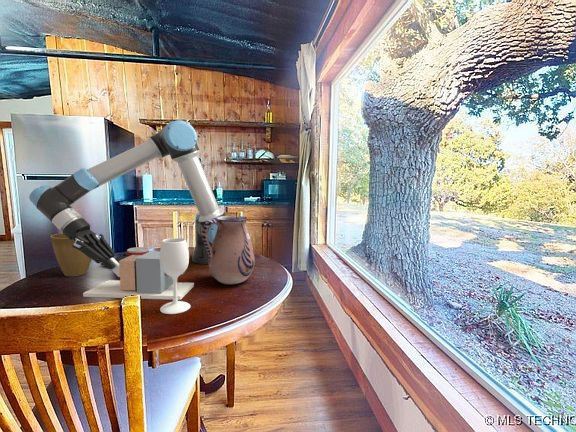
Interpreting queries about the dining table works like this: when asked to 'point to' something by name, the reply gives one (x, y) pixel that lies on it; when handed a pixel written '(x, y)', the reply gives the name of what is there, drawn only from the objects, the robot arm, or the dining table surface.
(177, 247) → the wineglass
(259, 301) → the dining table surface
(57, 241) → the plant pot
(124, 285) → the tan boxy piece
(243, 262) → the ceramic pitcher
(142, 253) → the canned food
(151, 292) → the bearing block
